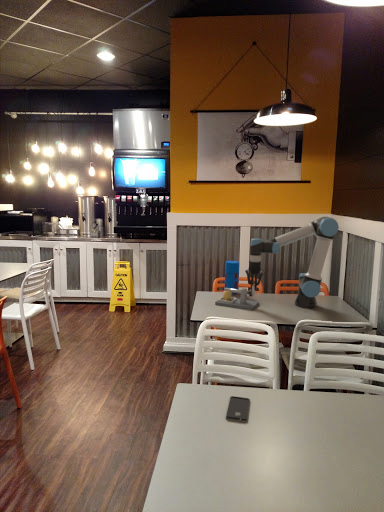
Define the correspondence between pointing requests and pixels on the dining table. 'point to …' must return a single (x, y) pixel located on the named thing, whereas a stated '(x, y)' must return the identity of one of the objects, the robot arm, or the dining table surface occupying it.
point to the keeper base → (238, 302)
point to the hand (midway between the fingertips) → (253, 294)
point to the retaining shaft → (238, 291)
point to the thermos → (231, 275)
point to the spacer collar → (227, 295)
